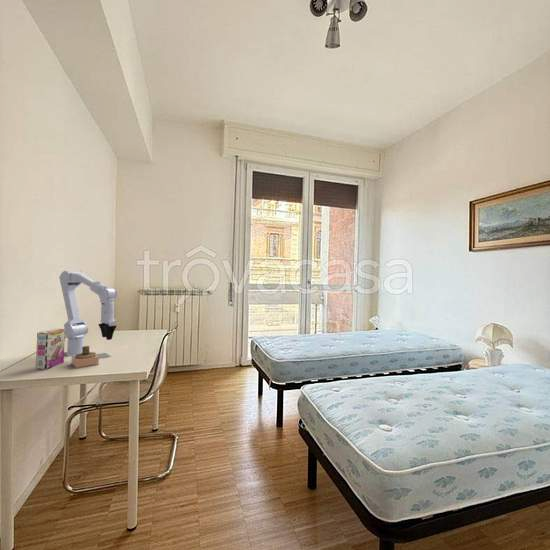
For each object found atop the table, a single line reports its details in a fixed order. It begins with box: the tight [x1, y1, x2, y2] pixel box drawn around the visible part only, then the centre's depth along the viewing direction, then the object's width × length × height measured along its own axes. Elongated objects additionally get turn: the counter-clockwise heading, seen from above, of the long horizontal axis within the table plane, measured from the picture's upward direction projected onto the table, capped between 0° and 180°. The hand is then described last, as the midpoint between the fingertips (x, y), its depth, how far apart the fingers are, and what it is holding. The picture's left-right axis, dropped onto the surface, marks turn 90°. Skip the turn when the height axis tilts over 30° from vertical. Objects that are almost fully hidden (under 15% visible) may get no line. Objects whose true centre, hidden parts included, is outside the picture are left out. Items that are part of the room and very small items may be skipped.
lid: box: [75, 345, 96, 359], centre depth 141 cm, size 8×8×4 cm
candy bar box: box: [35, 328, 66, 370], centre depth 138 cm, size 11×5×16 cm, turn 178°
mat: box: [96, 352, 112, 360], centre depth 154 cm, size 10×10×1 cm
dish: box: [71, 355, 100, 369], centre depth 140 cm, size 9×9×4 cm
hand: (107, 338), depth 153 cm, fingers open, 7 cm apart
